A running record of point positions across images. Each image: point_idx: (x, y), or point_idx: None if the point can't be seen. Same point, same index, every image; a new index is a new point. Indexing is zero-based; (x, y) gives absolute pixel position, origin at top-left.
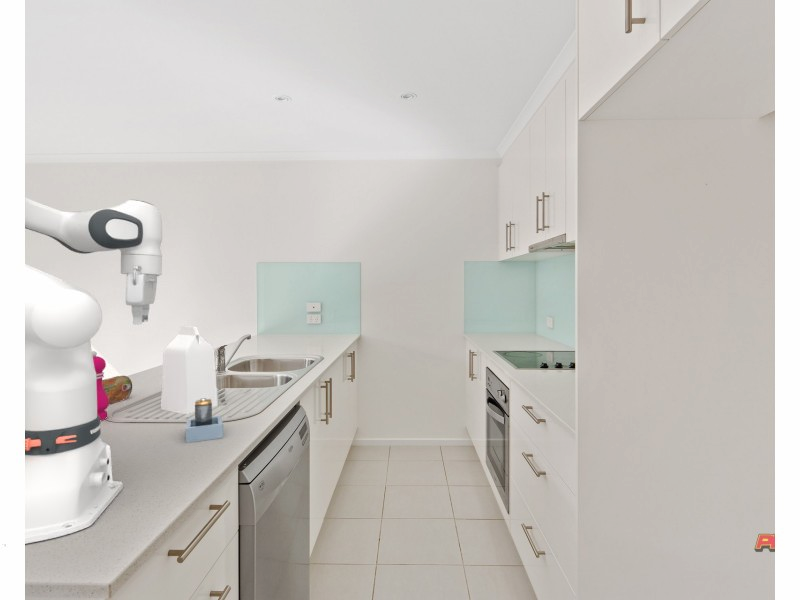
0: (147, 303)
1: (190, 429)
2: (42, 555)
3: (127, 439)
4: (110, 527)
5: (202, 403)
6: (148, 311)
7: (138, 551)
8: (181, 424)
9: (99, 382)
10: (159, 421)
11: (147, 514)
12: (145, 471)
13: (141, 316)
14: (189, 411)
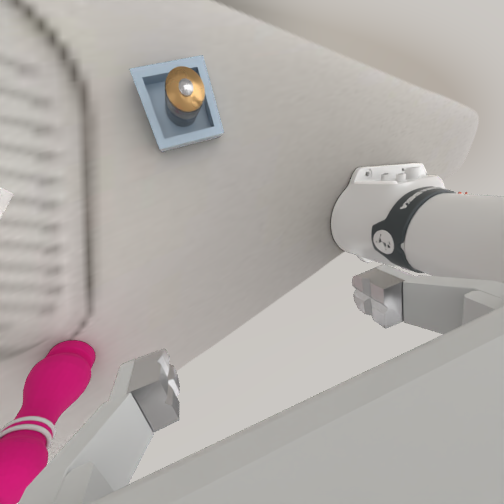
0: (453, 336)
1: (221, 124)
2: None
3: (192, 242)
4: (422, 144)
5: (204, 88)
6: (101, 427)
7: (461, 105)
8: (104, 180)
9: (37, 409)
10: (81, 234)
11: (413, 118)
12: (318, 161)
13: (423, 276)
14: (1, 190)
